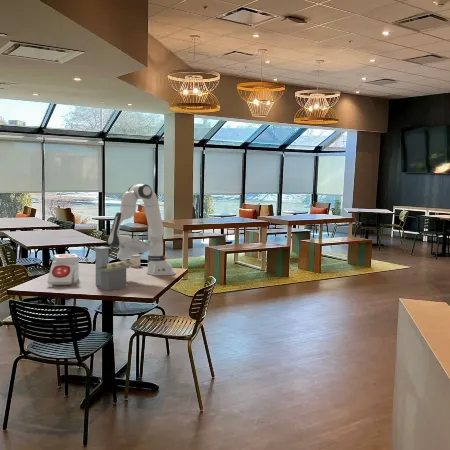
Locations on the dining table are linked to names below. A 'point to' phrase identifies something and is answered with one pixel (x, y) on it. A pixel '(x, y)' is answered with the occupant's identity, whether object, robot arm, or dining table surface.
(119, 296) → the dining table surface
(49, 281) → the white box
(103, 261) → the plinth
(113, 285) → the box with lid
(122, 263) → the block
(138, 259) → the teacup with lid
